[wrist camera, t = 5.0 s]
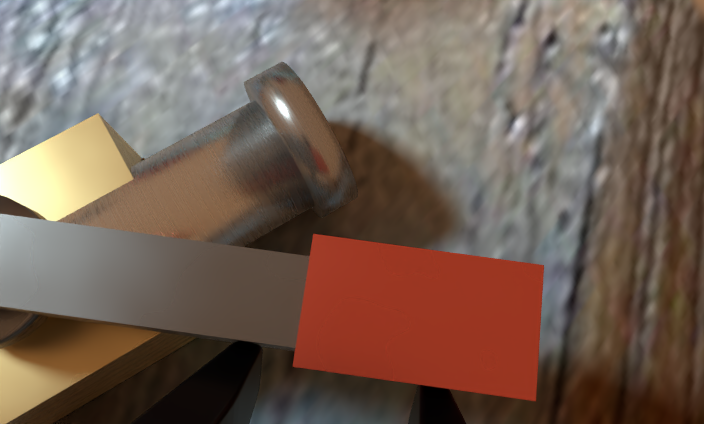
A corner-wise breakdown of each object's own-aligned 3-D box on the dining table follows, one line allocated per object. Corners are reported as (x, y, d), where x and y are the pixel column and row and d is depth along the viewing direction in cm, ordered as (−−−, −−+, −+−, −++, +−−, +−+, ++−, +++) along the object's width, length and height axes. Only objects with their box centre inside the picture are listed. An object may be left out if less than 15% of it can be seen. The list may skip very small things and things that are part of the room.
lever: (-105, 340, 12) (-322, 327, 8) (-59, 193, 13) (-238, 117, 9) (470, 422, 12) (533, 449, 8) (483, 268, 12) (546, 223, 9)
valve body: (369, 235, 17) (376, 197, 13) (-169, 554, 14) (-344, 618, 11) (274, 83, 18) (256, 9, 14) (-240, 361, 16) (-421, 359, 12)
